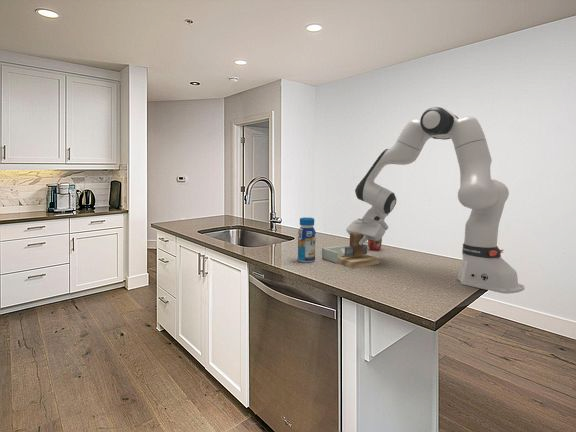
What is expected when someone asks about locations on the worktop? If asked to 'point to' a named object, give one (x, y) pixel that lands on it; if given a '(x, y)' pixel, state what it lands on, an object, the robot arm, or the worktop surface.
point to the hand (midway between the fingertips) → (355, 243)
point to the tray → (332, 253)
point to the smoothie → (374, 244)
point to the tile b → (341, 253)
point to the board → (358, 261)
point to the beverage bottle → (306, 240)
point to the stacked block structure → (355, 246)
